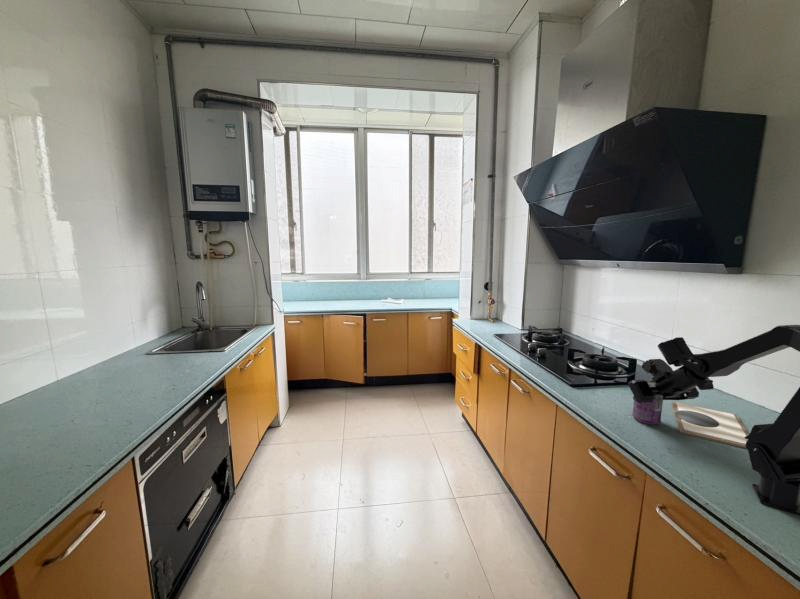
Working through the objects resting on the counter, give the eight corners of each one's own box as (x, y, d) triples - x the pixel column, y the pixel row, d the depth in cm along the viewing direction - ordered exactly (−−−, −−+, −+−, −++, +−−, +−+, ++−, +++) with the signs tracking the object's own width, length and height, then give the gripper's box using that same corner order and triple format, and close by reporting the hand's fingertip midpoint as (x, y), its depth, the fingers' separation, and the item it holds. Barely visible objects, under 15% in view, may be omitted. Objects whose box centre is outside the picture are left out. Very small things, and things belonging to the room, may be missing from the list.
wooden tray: (758, 451, 87) (758, 448, 86) (679, 432, 96) (680, 429, 96) (736, 416, 104) (736, 413, 104) (672, 403, 113) (672, 400, 113)
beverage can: (658, 418, 104) (662, 382, 102) (662, 428, 98) (666, 391, 96) (631, 412, 108) (634, 378, 106) (633, 422, 102) (637, 386, 100)
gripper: (694, 352, 96) (657, 373, 109) (636, 355, 94) (605, 376, 107) (718, 388, 90) (676, 406, 102) (657, 392, 88) (621, 410, 100)
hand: (644, 398), depth 103 cm, fingers closed on beverage can, 7 cm apart
